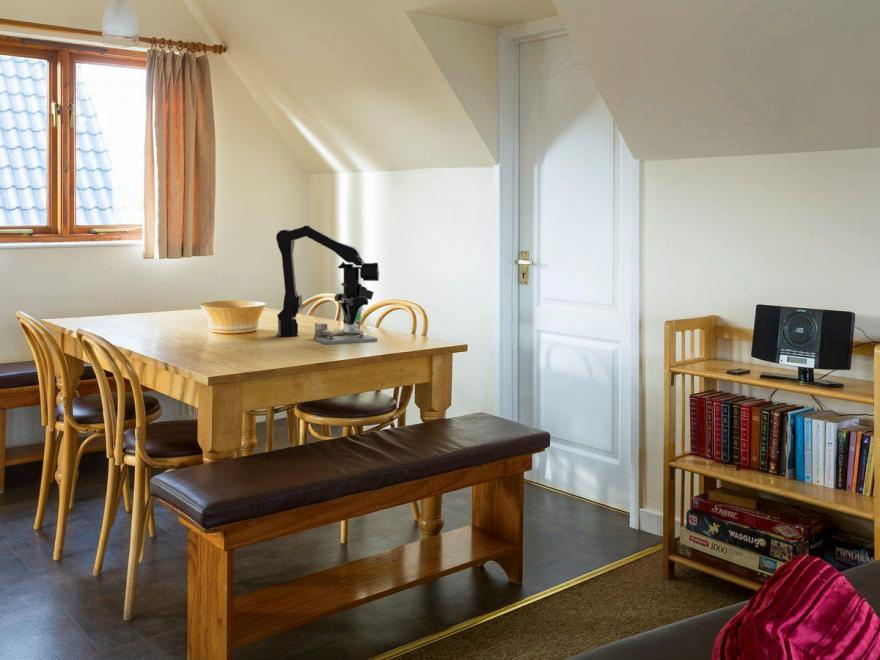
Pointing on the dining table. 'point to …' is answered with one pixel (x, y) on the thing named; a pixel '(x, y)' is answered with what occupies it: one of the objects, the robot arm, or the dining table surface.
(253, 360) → the dining table surface
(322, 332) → the divider rail
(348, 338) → the hole plate
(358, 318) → the food container
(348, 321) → the divider leg
